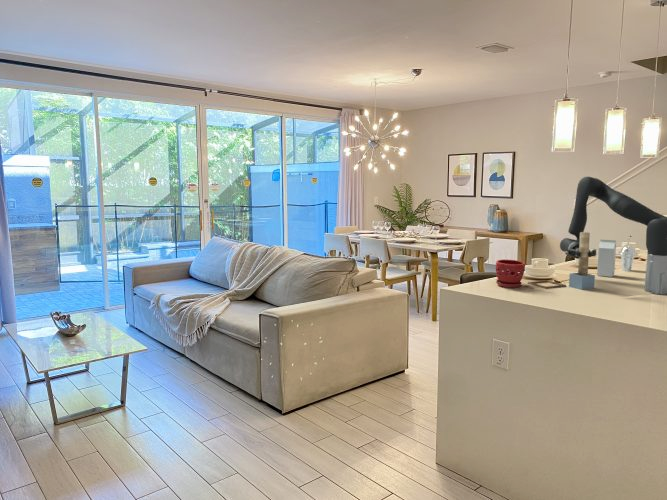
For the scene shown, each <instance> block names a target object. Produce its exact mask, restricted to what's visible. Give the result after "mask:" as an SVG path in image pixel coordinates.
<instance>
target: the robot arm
mask: <svg viewBox="0 0 667 500" xmlns="http://www.w3.org/2000/svg"><path fill="white" fill-rule="evenodd" d="M575 195H576V196H575V201H574V208H573V209H574V210H573V214H572V217H571V221H570V223H569V227H568V233H569V234H570V235H573V236H575V238H576V239H572V238H570V237H564V238H563V239H561V241H560V243H559V248H560V250H561V251H562V252H565V253H564V254H565V255H567V256H571V257H573V258H574V259H578V260H579V257H580V254H581V253H580V252H579V242H580V233H581V232H585V228H586V225H587V221H588V212H587V206H588V199H589V197H592V198H595V199H598V200H599V201H602V202H603V203H605V204H606V205H607V206H608V208H609V209H611V211H613V212H614V213H615V214H617V215H619V217H620V216H621V218H624V219H626V220H629V221H632V222H636V223H640V224H641V225H645V226H646V232H645V233H646V235H645V246H646V250H647V256H646V264H645V265H646V267H645V268H646V269H645V280H644V292H647V293H652V294H656V295H667V216H665V215H663V214H660V213H658V212H656V211H654V210H652V209H651V208H649V207H647V206H646V205H644V204H642V203H641V202H639V201H637V200H636V199H634V198H632V197H630V196H629V195H626V194H625V193H623V192H620V191H618V190H615V189H613V188H612V187H611V186H609V185H608V184H606V183H605V182H604V181H602V180H601V179H599V178H597V177H592V176H584V177H582V178H581V179H580V180H579V181H578V184H577V188H576V194H575ZM596 256H597V249H595V248H594V249H592V250H591V249H589V258H592V257H596Z"/></svg>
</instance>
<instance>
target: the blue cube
mask: <svg viewBox="0 0 667 500" xmlns="http://www.w3.org/2000/svg"><path fill="white" fill-rule="evenodd" d="M595 279H596V275H595V274H591V273H588V276H580V275H578V272H572V273H569V279H568V280H569V281H568V287H569V288H573V289H575V290H576V289H577V290H581V291H583V290H584V291H585V290H593V289H595V281H596V280H595Z"/></svg>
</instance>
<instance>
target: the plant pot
mask: <svg viewBox="0 0 667 500" xmlns="http://www.w3.org/2000/svg"><path fill="white" fill-rule="evenodd" d="M525 269H526V263H525V262H524V261H520V260H515V259H497V260H496V261H495V274H496V275H495V276H496V277H497V279H496V281H495V283H496V285H498V286H500V287H504V288H513V289H514V288H519V287H521V286H522V284H523V283H522V282H521V281H522V280H523V277H524V273H525Z"/></svg>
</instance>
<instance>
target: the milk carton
mask: <svg viewBox="0 0 667 500" xmlns="http://www.w3.org/2000/svg"><path fill="white" fill-rule="evenodd" d="M616 242H617V240H614V239H600V241H599V245H598V252H597V265H596V266H597V267H596V276H599V277H608V278H613V277H614V275H615V269H616V268H615V266H616V254H617V243H616Z"/></svg>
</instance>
